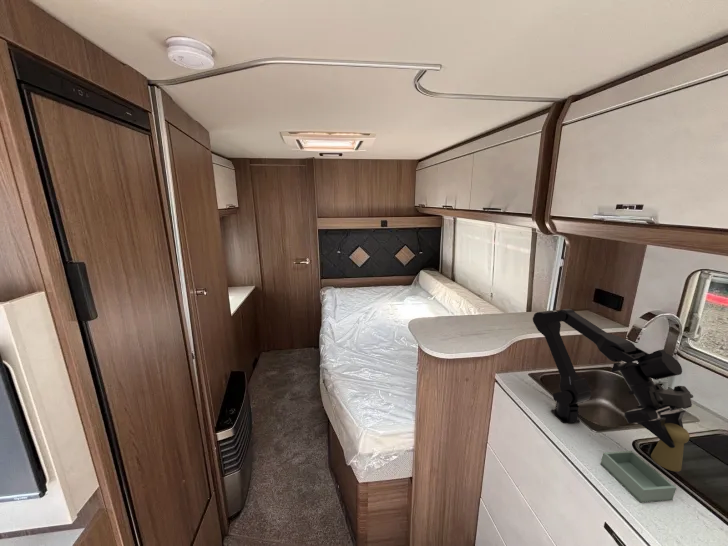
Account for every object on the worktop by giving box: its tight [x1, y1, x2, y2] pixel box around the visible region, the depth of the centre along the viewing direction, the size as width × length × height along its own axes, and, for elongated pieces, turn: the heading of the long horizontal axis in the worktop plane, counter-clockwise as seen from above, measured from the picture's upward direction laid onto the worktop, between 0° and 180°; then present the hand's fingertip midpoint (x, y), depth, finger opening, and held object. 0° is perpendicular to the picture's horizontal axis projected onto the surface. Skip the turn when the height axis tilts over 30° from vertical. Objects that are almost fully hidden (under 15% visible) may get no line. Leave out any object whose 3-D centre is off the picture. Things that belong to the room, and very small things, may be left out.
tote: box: [600, 450, 677, 504], centre depth 85 cm, size 12×9×4 cm
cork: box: [650, 423, 690, 472], centre depth 82 cm, size 6×6×11 cm
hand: (679, 445), depth 81 cm, fingers closed on cork, 5 cm apart
